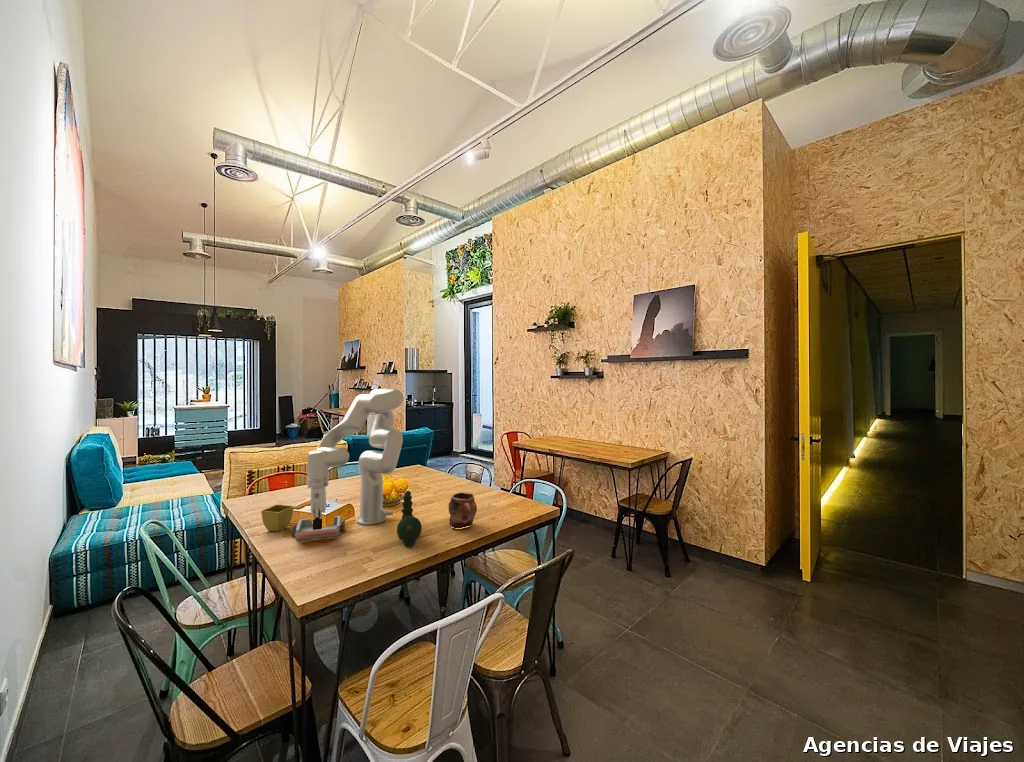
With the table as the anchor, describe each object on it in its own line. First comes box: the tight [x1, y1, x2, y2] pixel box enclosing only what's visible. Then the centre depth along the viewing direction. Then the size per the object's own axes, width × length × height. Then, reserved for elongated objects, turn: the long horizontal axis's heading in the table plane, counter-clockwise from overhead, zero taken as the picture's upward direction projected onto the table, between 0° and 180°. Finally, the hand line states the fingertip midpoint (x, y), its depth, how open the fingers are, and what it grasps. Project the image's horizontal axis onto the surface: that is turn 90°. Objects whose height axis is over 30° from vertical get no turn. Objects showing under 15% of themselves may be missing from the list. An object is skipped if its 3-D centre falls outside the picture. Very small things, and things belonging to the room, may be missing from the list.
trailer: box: [291, 515, 346, 541], centre depth 177 cm, size 16×20×4 cm
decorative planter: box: [448, 492, 478, 528], centre depth 185 cm, size 20×12×14 cm, turn 29°
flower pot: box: [260, 504, 294, 532], centre depth 178 cm, size 9×9×9 cm
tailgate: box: [294, 528, 340, 539], centre depth 166 cm, size 1×16×8 cm
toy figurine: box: [396, 490, 423, 547], centre depth 169 cm, size 9×19×25 cm
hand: (317, 528), depth 165 cm, fingers closed
